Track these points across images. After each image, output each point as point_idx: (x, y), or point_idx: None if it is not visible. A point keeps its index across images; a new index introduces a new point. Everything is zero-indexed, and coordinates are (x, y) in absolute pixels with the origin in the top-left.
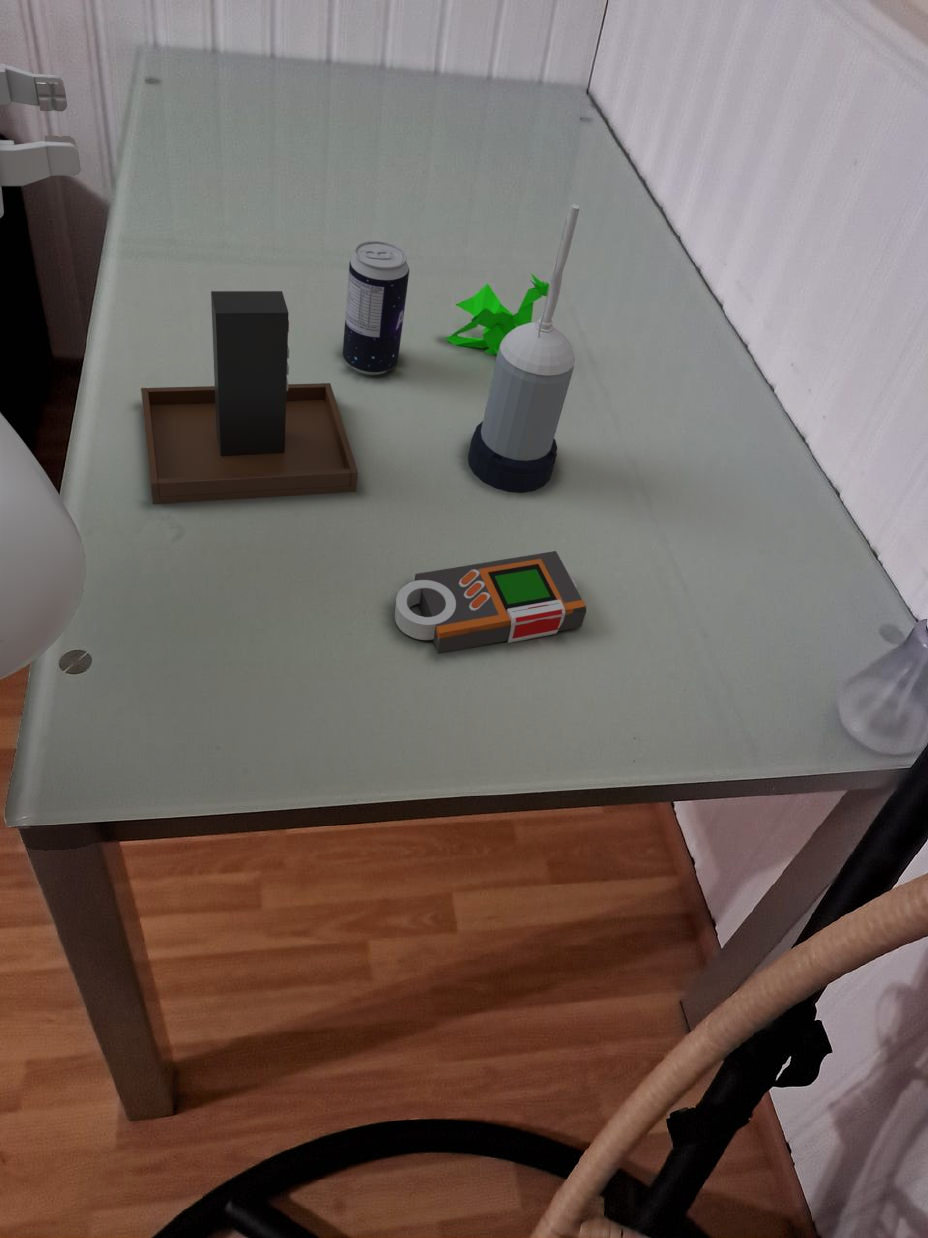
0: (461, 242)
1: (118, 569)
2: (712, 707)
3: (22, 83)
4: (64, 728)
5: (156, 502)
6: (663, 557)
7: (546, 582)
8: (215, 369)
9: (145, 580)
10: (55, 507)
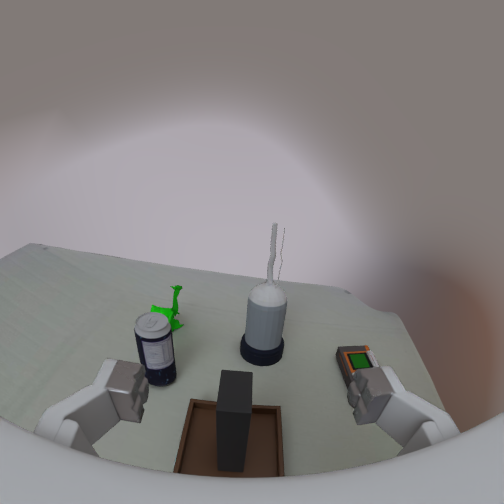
0: (83, 306)
1: None
2: (388, 332)
3: (95, 414)
4: None
5: None
6: (321, 325)
7: (356, 353)
8: (229, 444)
9: None
10: None
